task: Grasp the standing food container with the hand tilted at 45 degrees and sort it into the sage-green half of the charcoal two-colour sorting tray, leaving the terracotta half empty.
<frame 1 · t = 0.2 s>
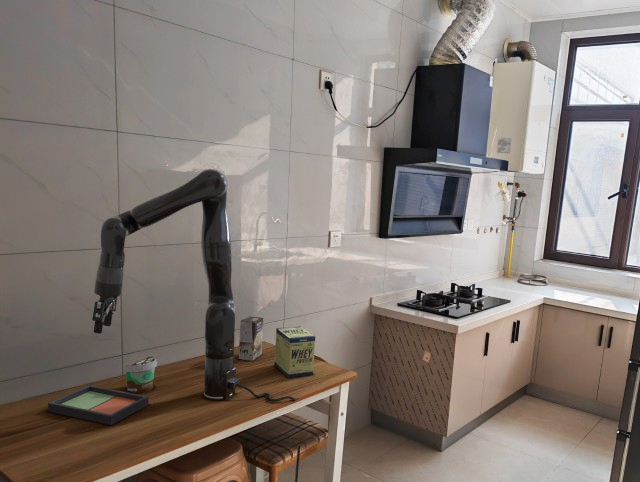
hand: (102, 329, 173), 23 cm above the table, tool pointing down, fingers open, 8 cm apart
coffee box: (250, 357, 227), on the table
protein box: (293, 370, 216), on the table
food container: (145, 389, 186), on the table
sorting tray: (99, 408, 169), on the table
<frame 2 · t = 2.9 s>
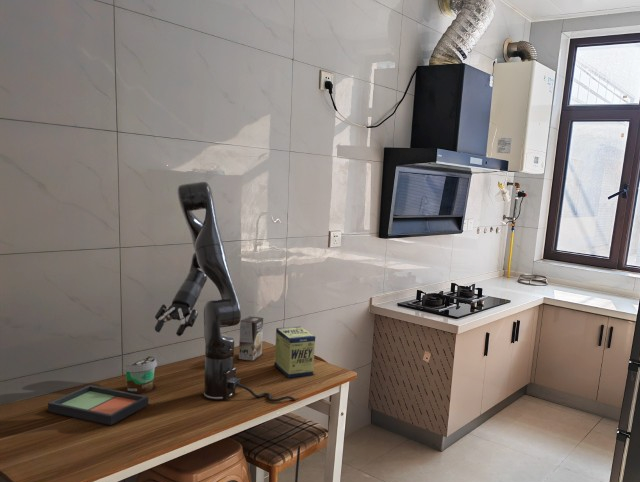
hand: (167, 333, 194), 17 cm above the table, tool tilted 45°, fingers open, 8 cm apart
nothing on the table moved.
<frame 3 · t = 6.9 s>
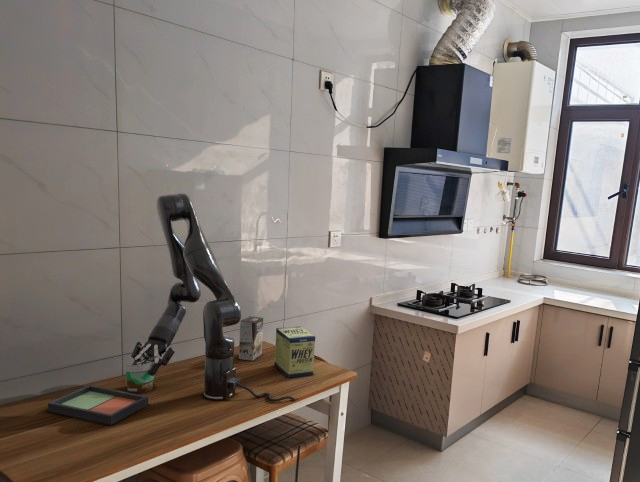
hand: (141, 373, 183), 6 cm above the table, tool tilted 45°, fingers closed on food container, 6 cm apart
food container: (145, 389, 186), on the table, touching gripper
everything else where it was.
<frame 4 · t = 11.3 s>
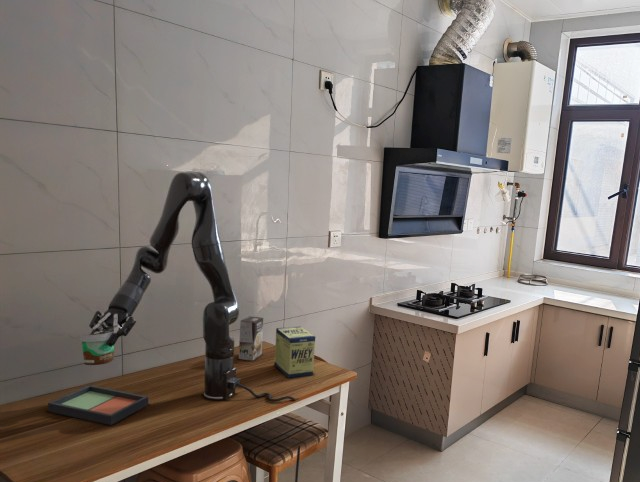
hand: (99, 343, 170), 19 cm above the table, tool tilted 45°, fingers closed on food container, 6 cm apart
food container: (104, 362, 172), point 13 cm above the table, touching gripper
everything else where it was.
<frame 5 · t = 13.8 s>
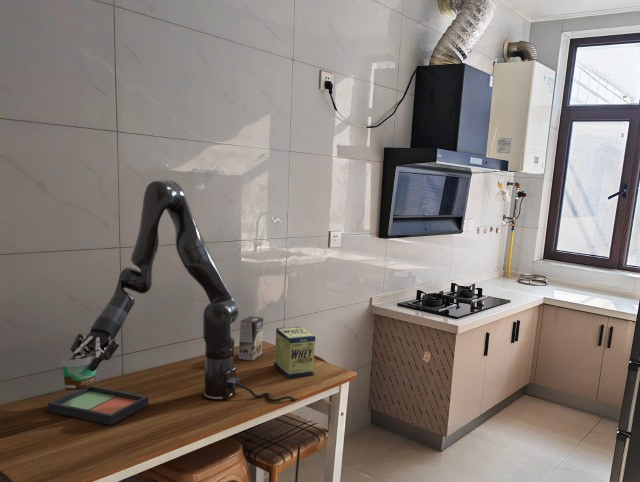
hand: (81, 368, 166), 13 cm above the table, tool tilted 45°, fingers closed on food container, 6 cm apart
food container: (85, 386, 169), point 6 cm above the table, touching gripper
everything else where it was.
when the fingers open (8 cm above the table, at t = 15.8 s): food container stays where it is, resting on sorting tray.
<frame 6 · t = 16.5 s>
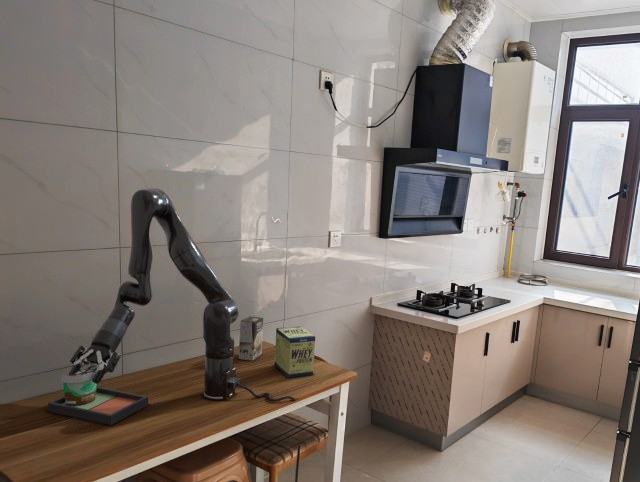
hand: (82, 380, 167), 9 cm above the table, tool tilted 45°, fingers open, 8 cm apart
food container: (86, 402, 170), point 1 cm above the table, touching sorting tray
everything else where it was.
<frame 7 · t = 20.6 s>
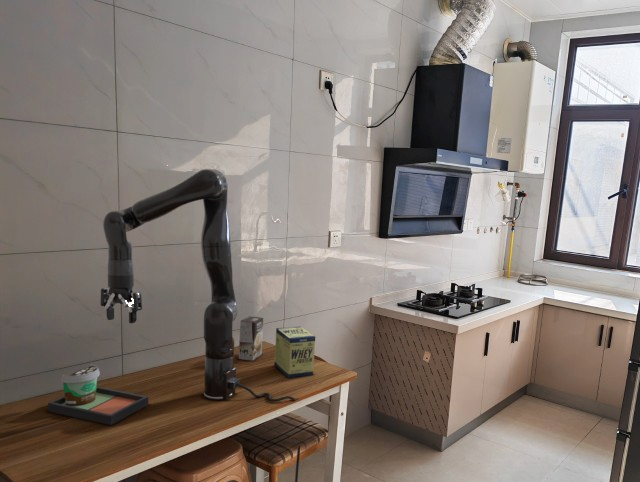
hand: (121, 321, 180), 23 cm above the table, tool pointing down, fingers open, 8 cm apart
nothing on the table moved.
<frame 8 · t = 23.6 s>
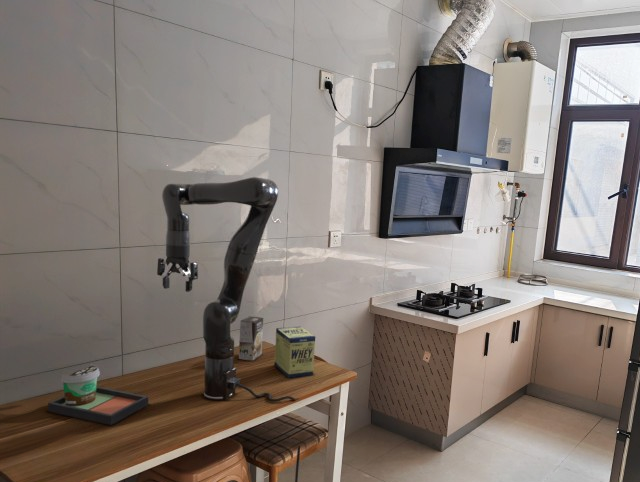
hand: (177, 289, 189), 33 cm above the table, tool pointing down, fingers open, 8 cm apart
nothing on the table moved.
at the end: food container inside the target area (0.9 cm from its centre), point 1.0 cm above the table; food container tilted 0°; the gripper is holding nothing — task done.
